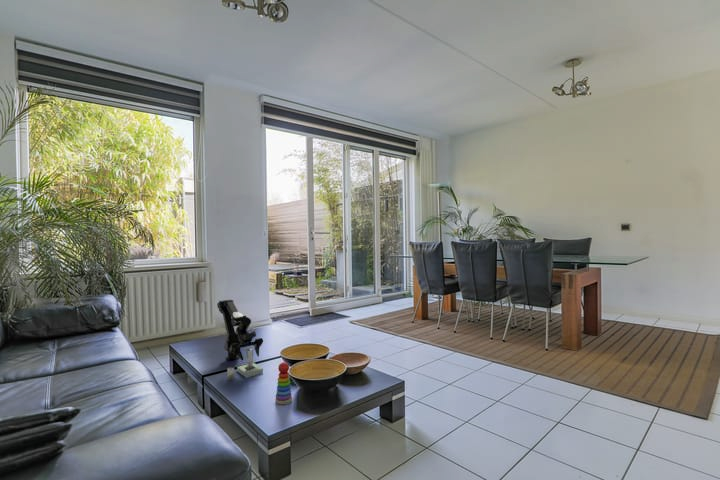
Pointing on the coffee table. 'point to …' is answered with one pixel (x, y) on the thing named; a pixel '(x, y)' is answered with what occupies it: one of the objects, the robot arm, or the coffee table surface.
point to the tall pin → (249, 359)
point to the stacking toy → (283, 385)
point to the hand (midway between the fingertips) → (250, 358)
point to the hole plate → (252, 372)
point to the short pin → (230, 373)
